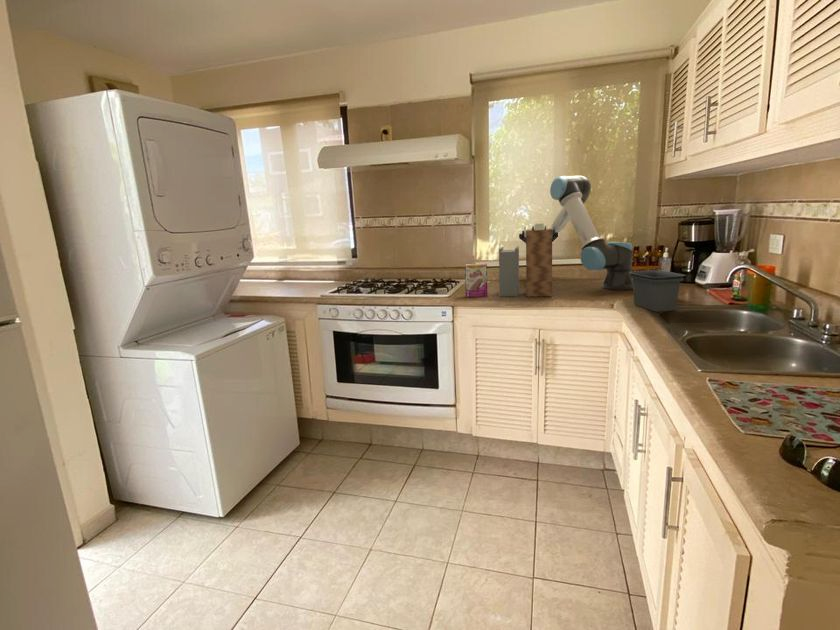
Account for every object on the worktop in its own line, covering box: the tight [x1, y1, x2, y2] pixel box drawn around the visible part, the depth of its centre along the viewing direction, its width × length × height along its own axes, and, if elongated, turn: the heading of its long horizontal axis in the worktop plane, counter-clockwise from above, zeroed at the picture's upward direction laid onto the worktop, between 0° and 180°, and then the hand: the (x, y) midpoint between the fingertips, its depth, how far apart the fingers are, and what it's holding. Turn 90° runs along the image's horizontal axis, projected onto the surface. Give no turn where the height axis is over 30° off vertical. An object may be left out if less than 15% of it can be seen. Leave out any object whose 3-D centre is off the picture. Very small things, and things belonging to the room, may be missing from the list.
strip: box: [534, 221, 545, 230], centre depth 224 cm, size 4×22×3 cm, turn 165°
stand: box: [525, 225, 553, 298], centre depth 224 cm, size 12×12×34 cm
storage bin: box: [629, 269, 686, 313], centre depth 184 cm, size 21×16×14 cm
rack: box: [498, 246, 520, 297], centre depth 232 cm, size 9×12×24 cm
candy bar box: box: [464, 263, 488, 298], centre depth 231 cm, size 11×5×16 cm, turn 84°
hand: (538, 228), depth 237 cm, fingers open, 13 cm apart
